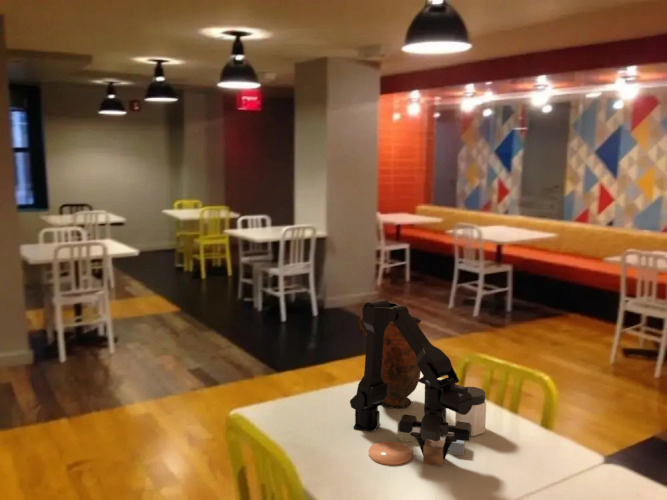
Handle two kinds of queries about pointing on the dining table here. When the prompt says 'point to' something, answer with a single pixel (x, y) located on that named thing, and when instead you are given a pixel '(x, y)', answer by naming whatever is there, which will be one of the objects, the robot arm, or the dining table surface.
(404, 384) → the pitcher
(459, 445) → the plastic brick
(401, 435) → the sage cube
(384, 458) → the coaster
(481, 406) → the jar
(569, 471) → the dining table surface
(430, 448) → the walnut block
